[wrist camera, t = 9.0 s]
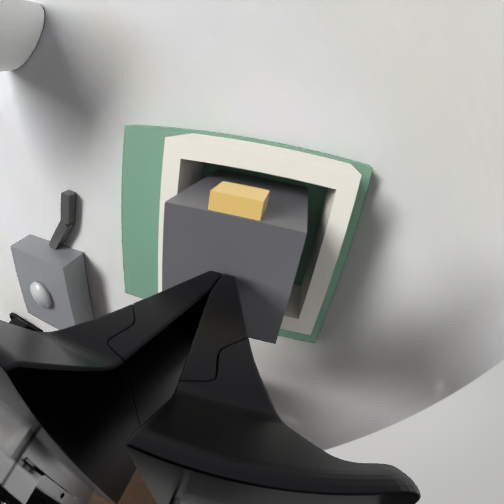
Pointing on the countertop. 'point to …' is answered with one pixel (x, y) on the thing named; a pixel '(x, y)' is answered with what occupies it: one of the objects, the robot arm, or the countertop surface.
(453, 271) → the countertop surface
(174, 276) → the plug
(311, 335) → the board
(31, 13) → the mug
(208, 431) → the robot arm
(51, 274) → the gray button block
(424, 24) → the countertop surface
